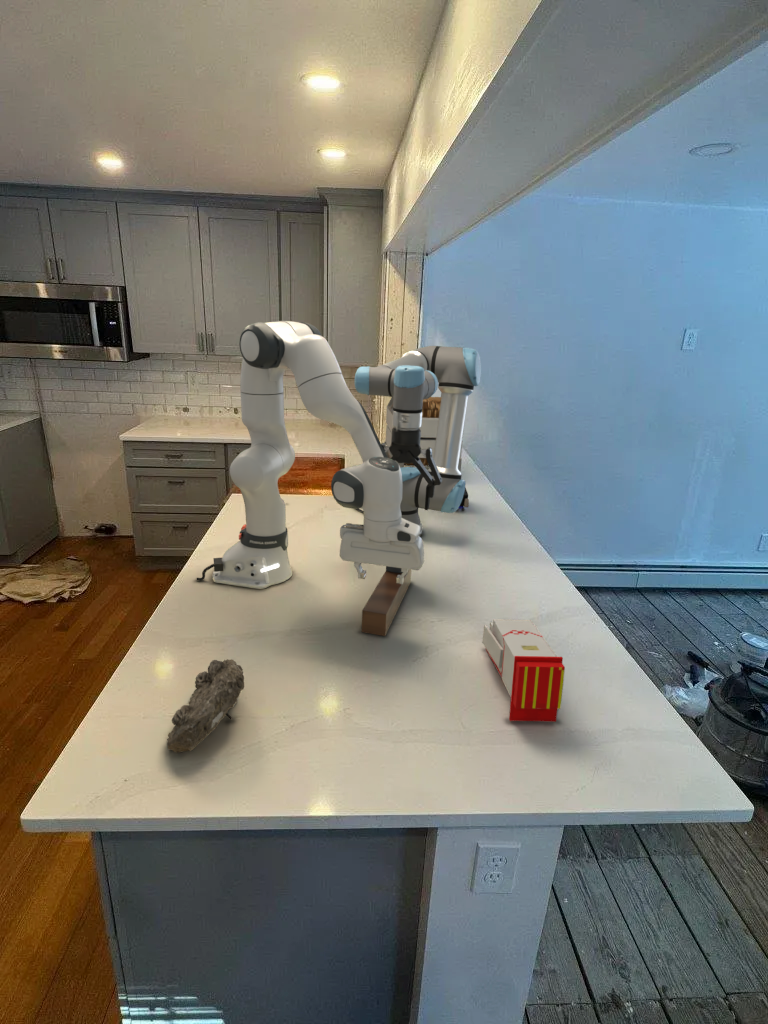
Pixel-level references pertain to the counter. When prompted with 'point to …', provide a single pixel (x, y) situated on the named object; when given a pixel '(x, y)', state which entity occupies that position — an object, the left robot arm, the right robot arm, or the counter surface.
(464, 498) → the figurine character
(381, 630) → the walnut beam
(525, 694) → the toy
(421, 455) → the white boxy piece
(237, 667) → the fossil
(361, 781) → the counter surface
